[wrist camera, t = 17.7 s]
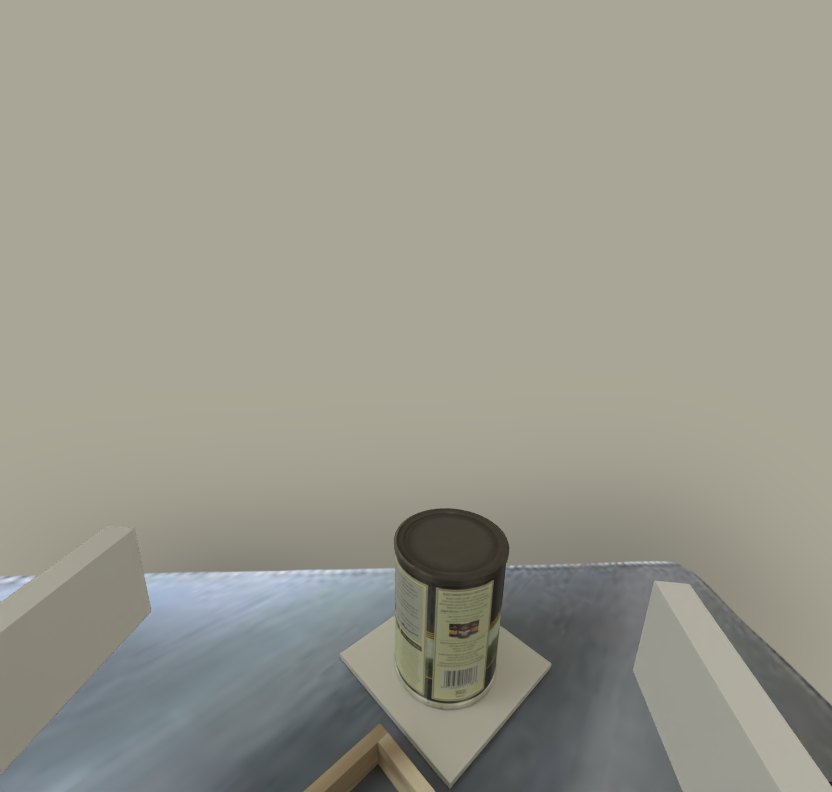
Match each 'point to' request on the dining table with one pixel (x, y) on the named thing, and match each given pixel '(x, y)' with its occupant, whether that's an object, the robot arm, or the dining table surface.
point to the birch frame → (372, 766)
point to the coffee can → (448, 605)
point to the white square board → (446, 728)
